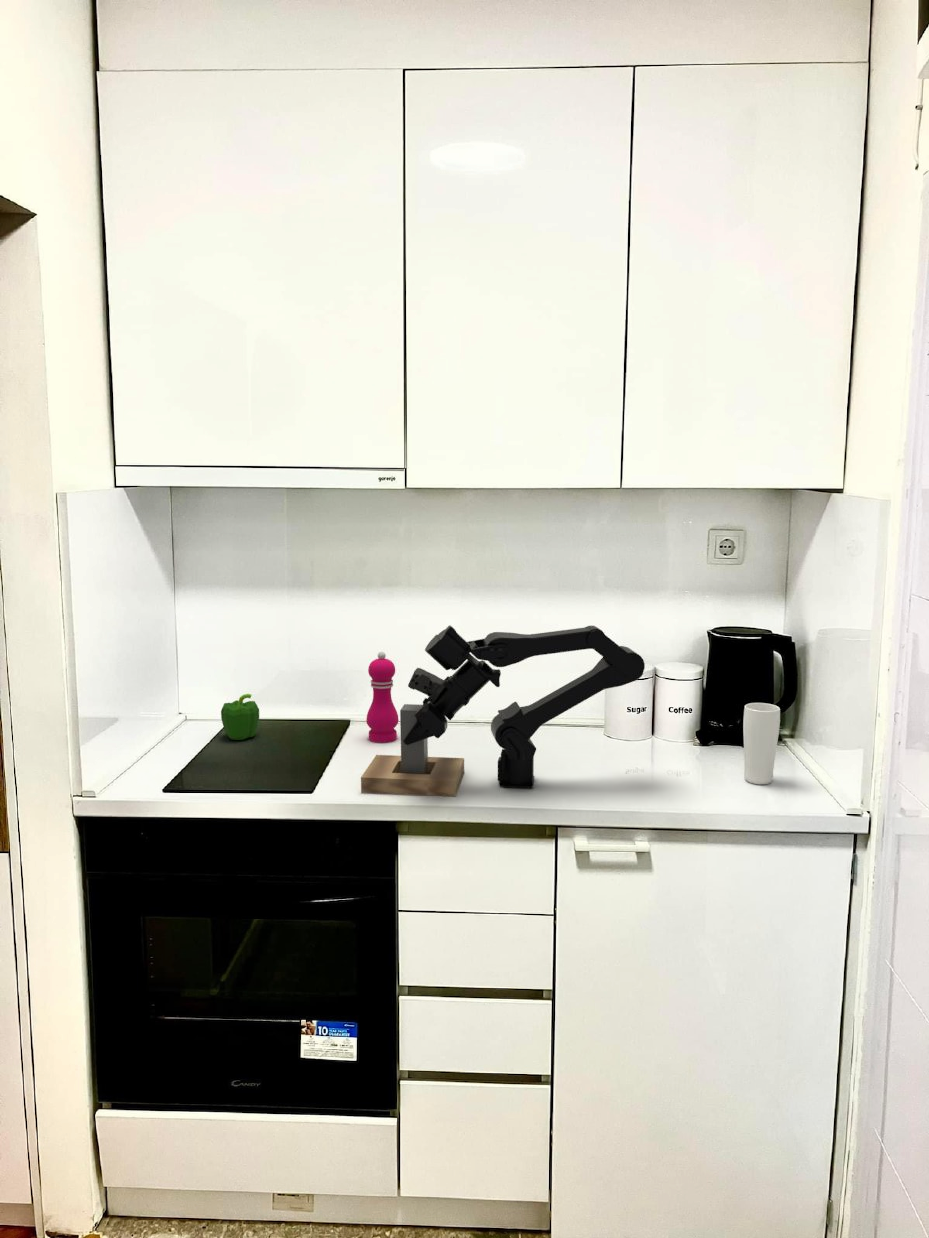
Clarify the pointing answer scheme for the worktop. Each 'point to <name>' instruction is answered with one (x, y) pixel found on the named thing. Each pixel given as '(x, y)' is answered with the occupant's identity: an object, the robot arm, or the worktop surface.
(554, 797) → the worktop surface
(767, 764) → the drinking glass
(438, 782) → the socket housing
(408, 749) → the plug block
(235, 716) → the bell pepper
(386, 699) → the pepper mill
